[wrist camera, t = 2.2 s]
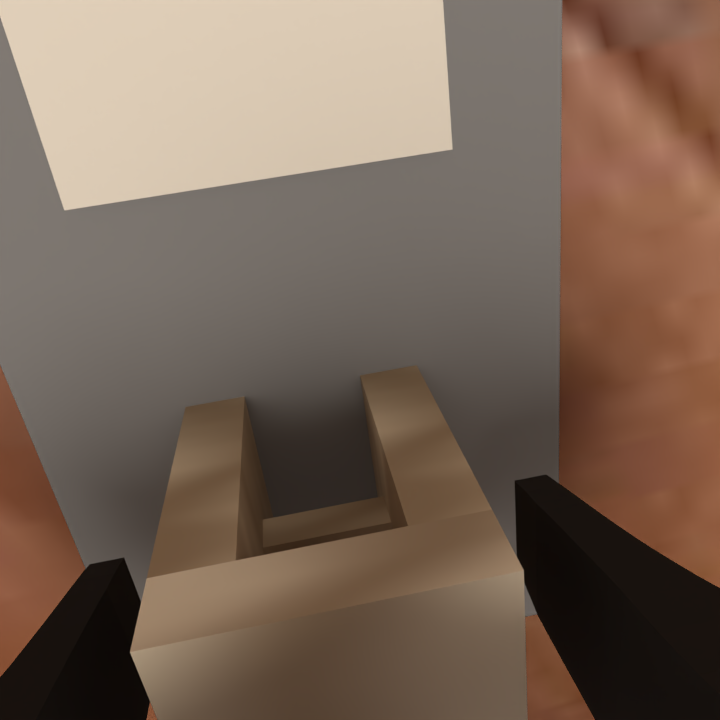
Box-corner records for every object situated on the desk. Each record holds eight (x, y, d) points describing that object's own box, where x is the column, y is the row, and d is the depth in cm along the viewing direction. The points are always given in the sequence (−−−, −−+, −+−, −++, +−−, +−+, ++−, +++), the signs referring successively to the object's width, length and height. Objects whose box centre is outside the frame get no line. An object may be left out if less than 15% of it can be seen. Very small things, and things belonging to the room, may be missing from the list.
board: (543, 582, 18) (561, 615, 17) (146, 664, 17) (138, 705, 16) (535, -452, 9) (572, -523, 8) (-272, -383, 8) (-351, -450, 7)
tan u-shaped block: (416, 365, 13) (523, 570, 8) (434, 542, 15) (529, 803, 10) (185, 406, 13) (130, 652, 7) (235, 582, 15) (221, 874, 10)
